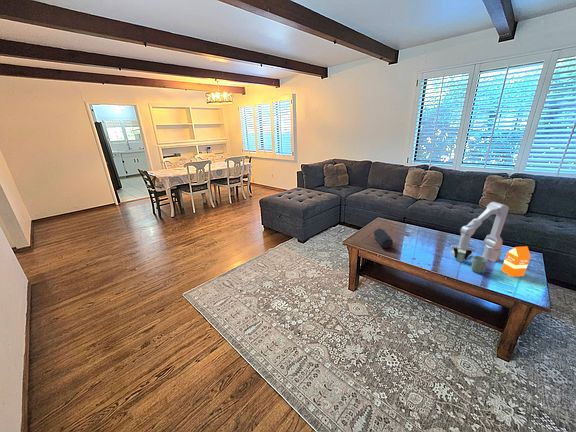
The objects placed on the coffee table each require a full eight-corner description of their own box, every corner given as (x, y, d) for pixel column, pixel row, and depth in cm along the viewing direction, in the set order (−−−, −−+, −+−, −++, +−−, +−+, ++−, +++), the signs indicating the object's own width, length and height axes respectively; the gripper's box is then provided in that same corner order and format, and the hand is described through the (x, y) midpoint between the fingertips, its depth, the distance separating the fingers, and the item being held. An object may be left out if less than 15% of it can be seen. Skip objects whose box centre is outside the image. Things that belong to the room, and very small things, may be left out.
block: (464, 260, 178) (465, 253, 175) (461, 262, 176) (463, 254, 174) (458, 258, 181) (460, 251, 179) (455, 259, 179) (457, 252, 177)
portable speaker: (393, 249, 196) (395, 239, 193) (381, 249, 196) (382, 239, 193) (383, 237, 220) (384, 227, 216) (372, 237, 220) (373, 227, 217)
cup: (470, 267, 169) (473, 254, 166) (484, 270, 164) (487, 258, 161) (469, 271, 164) (472, 259, 160) (483, 275, 159) (487, 262, 155)
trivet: (470, 256, 184) (471, 253, 183) (463, 259, 179) (464, 256, 178) (457, 251, 192) (457, 248, 191) (450, 254, 188) (450, 251, 187)
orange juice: (500, 270, 165) (509, 244, 158) (512, 269, 165) (521, 243, 158) (511, 276, 157) (521, 249, 151) (524, 275, 158) (534, 249, 151)
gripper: (474, 241, 174) (470, 257, 178) (451, 238, 179) (447, 254, 184) (477, 245, 168) (473, 262, 172) (453, 242, 173) (449, 258, 178)
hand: (460, 258), depth 178 cm, fingers closed on block, 6 cm apart
